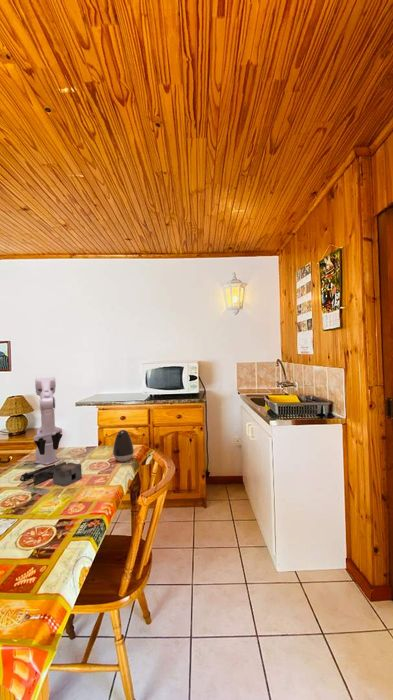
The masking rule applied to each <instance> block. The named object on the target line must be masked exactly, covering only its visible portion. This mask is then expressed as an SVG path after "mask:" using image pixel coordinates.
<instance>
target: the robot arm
mask: <svg viewBox="0 0 393 700" xmlns="http://www.w3.org/2000/svg"><path fill="white" fill-rule="evenodd" d="M34 381H35V382H34V383H35V386H34V387H35V393H36V396H39V397H40V399H39V410H40V416H41V418H40V422H41V424H40V425H41V426H40V427H39V428H38V429H37V431H36V435H34V436H33V442H34V444H35V446H36V447H35V461H34V463H36V464H41V465H46V466H48V465H50V464H51V465H52V464H53V463H56V462H58V461H61V458H57V450H58V449H59V446H60V441H61V439H62V437H63V429H62V428H58V427H57V426H56V424H55V422H56V421H55V409H56V399H55V396H54V395H55V392H56V385H57V384H56V383H57V381H56V377H54V376H53V377H40V378H38V377H35V379H34Z"/></svg>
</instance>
